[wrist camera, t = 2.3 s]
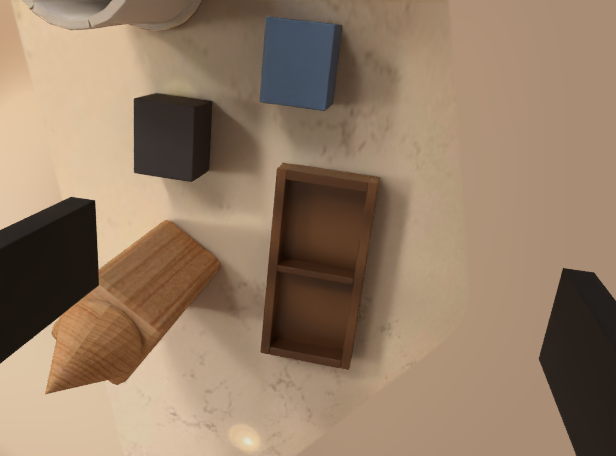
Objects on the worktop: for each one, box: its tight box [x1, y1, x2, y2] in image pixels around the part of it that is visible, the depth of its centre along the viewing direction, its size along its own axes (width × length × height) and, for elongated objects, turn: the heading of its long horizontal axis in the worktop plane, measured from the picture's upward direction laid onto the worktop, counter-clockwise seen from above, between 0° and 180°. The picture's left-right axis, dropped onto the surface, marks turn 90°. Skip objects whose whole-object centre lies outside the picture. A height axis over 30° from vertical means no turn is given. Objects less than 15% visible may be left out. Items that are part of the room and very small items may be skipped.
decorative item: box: [45, 220, 220, 394], centre depth 42 cm, size 7×7×20 cm
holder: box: [261, 163, 380, 370], centre depth 48 cm, size 17×8×2 cm, turn 174°
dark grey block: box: [134, 93, 212, 182], centre depth 45 cm, size 6×5×4 cm
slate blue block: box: [260, 16, 342, 111], centre depth 41 cm, size 6×5×4 cm
